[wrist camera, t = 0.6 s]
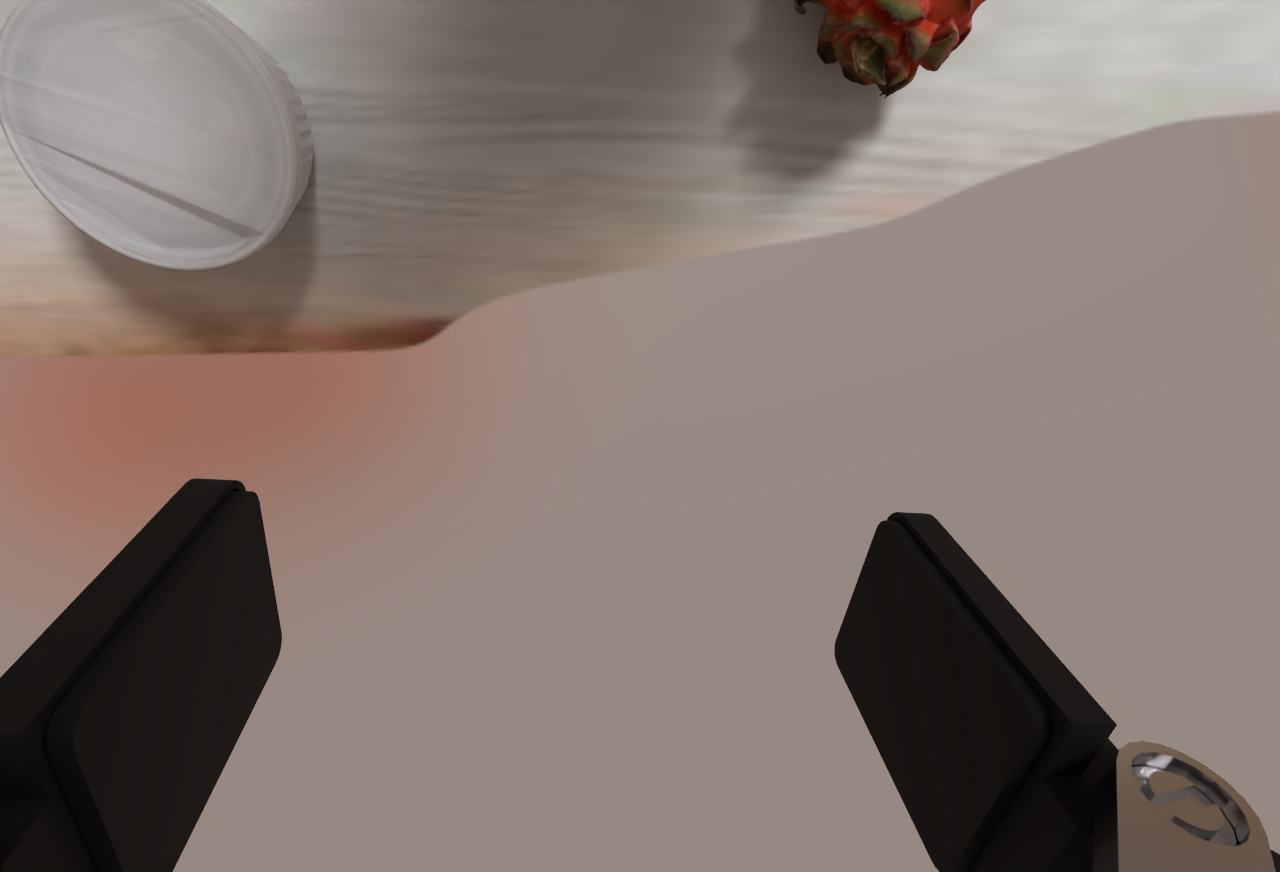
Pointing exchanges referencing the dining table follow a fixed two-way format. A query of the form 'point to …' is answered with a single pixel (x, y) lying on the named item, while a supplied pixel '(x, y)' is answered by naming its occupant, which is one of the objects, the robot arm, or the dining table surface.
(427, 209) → the dining table surface
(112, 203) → the ramekin
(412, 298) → the dining table surface
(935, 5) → the dragon fruit
